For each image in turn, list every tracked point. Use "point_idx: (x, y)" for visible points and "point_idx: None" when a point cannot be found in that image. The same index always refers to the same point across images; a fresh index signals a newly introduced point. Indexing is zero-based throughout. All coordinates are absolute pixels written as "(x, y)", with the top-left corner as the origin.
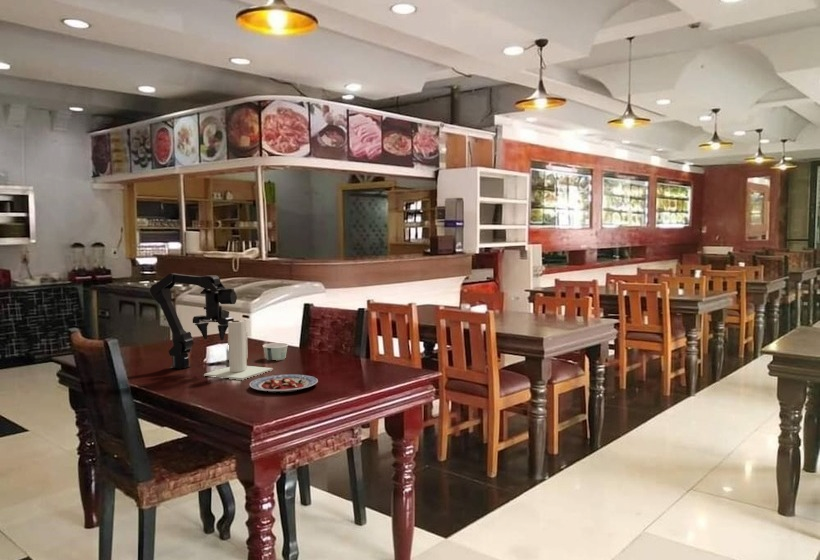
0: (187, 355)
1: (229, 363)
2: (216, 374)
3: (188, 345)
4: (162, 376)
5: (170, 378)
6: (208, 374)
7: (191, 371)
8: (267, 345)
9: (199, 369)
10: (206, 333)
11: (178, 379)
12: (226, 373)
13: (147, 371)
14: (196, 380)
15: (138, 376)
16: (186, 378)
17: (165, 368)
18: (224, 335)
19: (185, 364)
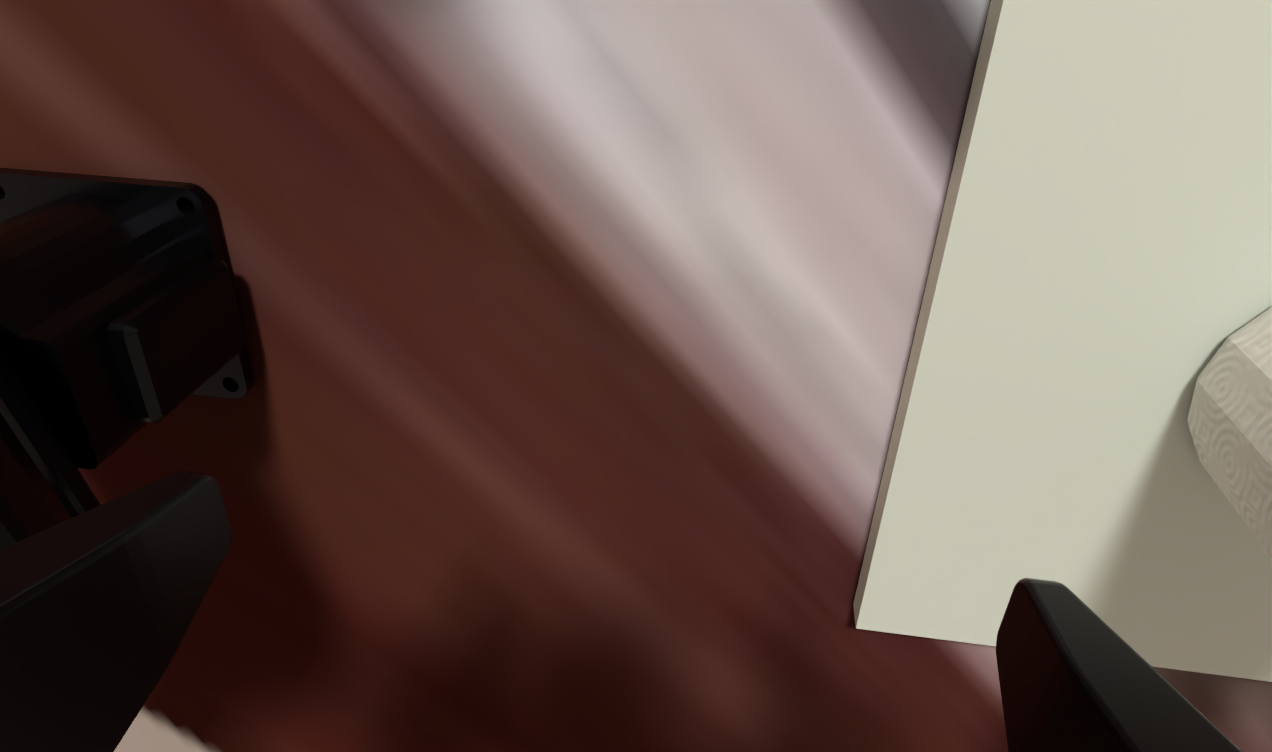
0: (84, 346)
1: (1261, 543)
2: None
3: (3, 532)
4: (385, 675)
5: (541, 722)
6: (937, 637)
7: (475, 424)
8: None
9: (476, 291)
10: (50, 624)
11: (658, 741)
12: (1192, 557)
13: None
14: (889, 748)
15: (177, 706)
16: (709, 701)
17: None
18: (1214, 731)
19: (222, 350)
